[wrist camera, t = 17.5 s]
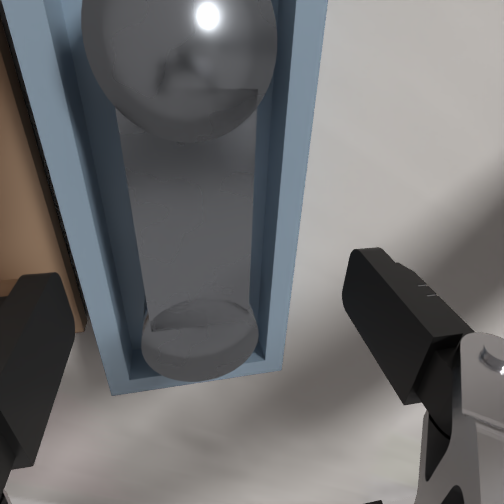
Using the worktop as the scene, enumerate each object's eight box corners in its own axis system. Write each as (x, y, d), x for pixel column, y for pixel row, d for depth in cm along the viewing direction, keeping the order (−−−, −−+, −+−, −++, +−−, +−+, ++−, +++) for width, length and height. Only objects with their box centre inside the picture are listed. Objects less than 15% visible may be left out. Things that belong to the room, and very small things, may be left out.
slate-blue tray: (312, -118, 11) (347, -154, 9) (270, 337, 21) (281, 370, 19) (-10, -164, 9) (-61, -221, 7) (117, 357, 20) (111, 396, 18)
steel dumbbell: (253, -45, 11) (285, -73, 8) (242, 322, 20) (256, 372, 17) (87, -61, 10) (57, -97, 7) (151, 334, 19) (148, 389, 16)
